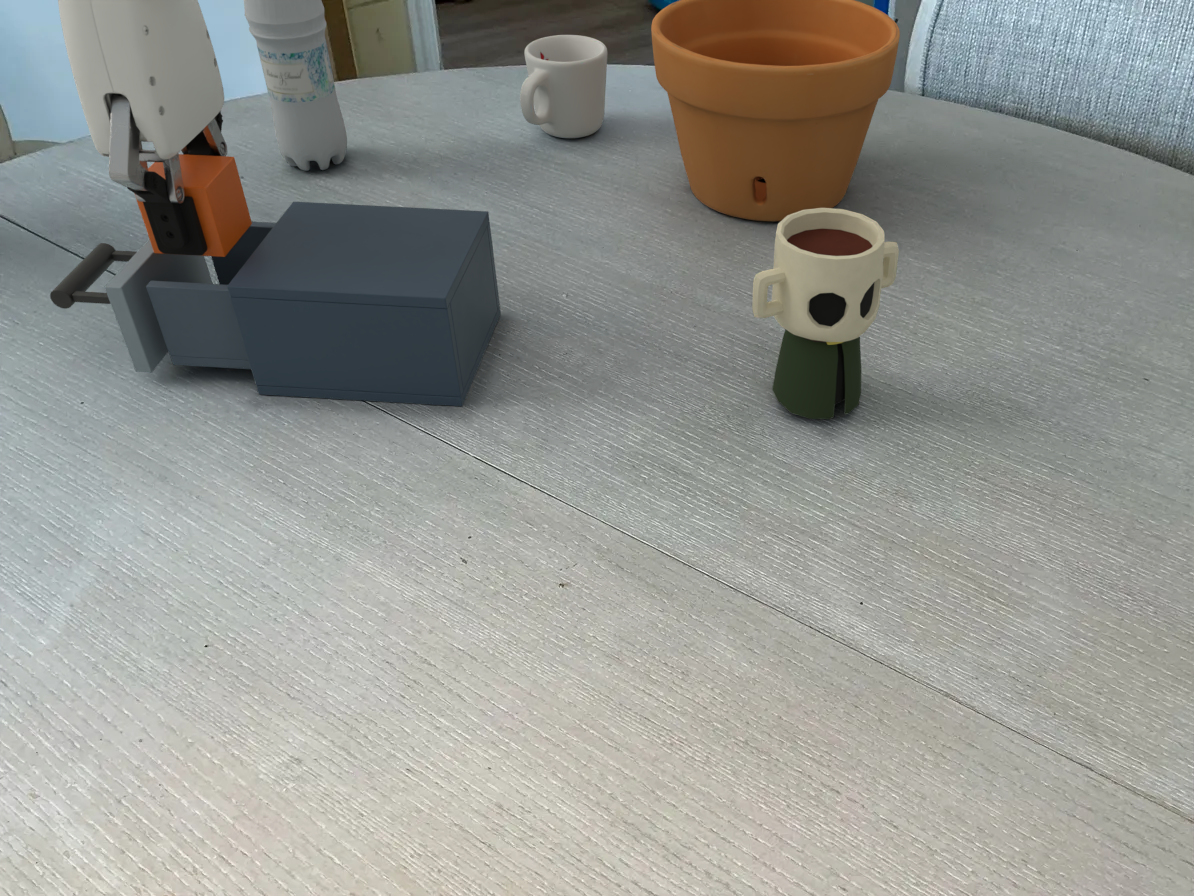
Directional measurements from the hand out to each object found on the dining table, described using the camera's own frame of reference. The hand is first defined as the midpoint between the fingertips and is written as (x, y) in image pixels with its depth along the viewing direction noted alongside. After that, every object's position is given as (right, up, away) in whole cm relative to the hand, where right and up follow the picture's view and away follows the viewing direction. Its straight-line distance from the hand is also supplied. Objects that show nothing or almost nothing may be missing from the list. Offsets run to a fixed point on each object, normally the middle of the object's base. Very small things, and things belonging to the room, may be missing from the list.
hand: (200, 230), depth 82 cm
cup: (+20, +19, +36) cm, 46 cm away
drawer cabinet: (+11, -8, +6) cm, 15 cm away
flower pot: (+41, +11, +28) cm, 50 cm away
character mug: (+43, -12, +2) cm, 45 cm away
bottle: (-2, +14, +30) cm, 34 cm away
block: (0, 0, 0) cm, 1 cm away
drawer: (-1, -6, +6) cm, 8 cm away
